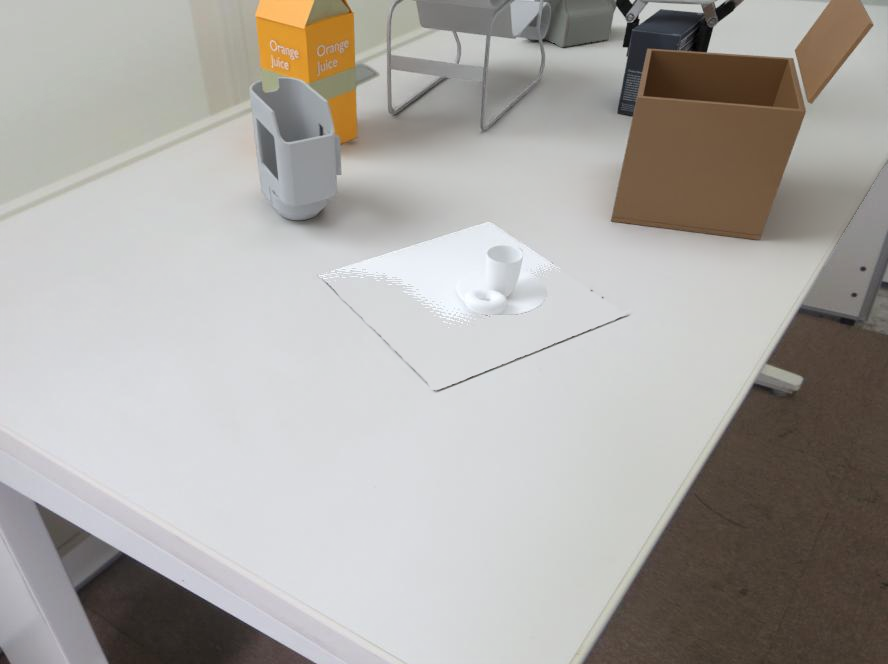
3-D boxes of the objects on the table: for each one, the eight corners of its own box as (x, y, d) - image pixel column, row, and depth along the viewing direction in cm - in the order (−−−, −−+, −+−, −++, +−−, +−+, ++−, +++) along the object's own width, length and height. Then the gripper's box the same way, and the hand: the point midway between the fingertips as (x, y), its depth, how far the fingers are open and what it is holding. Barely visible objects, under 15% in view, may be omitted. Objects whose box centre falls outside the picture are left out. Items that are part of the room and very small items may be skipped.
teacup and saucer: (484, 332, 64) (488, 291, 61) (431, 289, 69) (433, 249, 66) (565, 302, 67) (572, 261, 64) (508, 262, 72) (513, 223, 69)
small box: (641, 89, 106) (659, 6, 99) (689, 97, 103) (710, 12, 96) (613, 113, 99) (630, 26, 93) (663, 122, 96) (684, 34, 90)
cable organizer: (289, 237, 77) (279, 120, 69) (252, 189, 86) (238, 80, 78) (349, 223, 79) (345, 107, 71) (307, 177, 88) (299, 69, 80)
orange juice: (311, 120, 101) (300, -52, 88) (358, 136, 96) (353, -43, 83) (266, 137, 97) (247, -40, 84) (313, 156, 92) (300, -29, 79)
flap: (794, 50, 76) (798, 51, 76) (807, 102, 65) (811, 104, 65) (846, -22, 71) (850, -20, 71) (869, 22, 60) (874, 24, 60)
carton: (753, 176, 84) (793, 57, 76) (759, 240, 74) (806, 111, 66) (623, 162, 88) (647, 48, 80) (610, 221, 78) (637, 97, 69)
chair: (385, 120, 100) (384, -50, 87) (460, 64, 116) (469, -87, 103) (479, 137, 95) (494, -42, 82) (545, 75, 111) (566, -82, 98)
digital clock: (607, 26, 129) (620, -45, 122) (631, 41, 122) (645, -33, 115) (515, 34, 127) (523, -38, 120) (534, 50, 120) (543, -25, 113)
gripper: (782, -114, 86) (735, 51, 97) (622, -115, 90) (595, 42, 102) (786, -104, 80) (736, 70, 92) (616, -105, 85) (589, 60, 97)
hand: (662, 54), depth 97 cm, fingers closed on small box, 7 cm apart
